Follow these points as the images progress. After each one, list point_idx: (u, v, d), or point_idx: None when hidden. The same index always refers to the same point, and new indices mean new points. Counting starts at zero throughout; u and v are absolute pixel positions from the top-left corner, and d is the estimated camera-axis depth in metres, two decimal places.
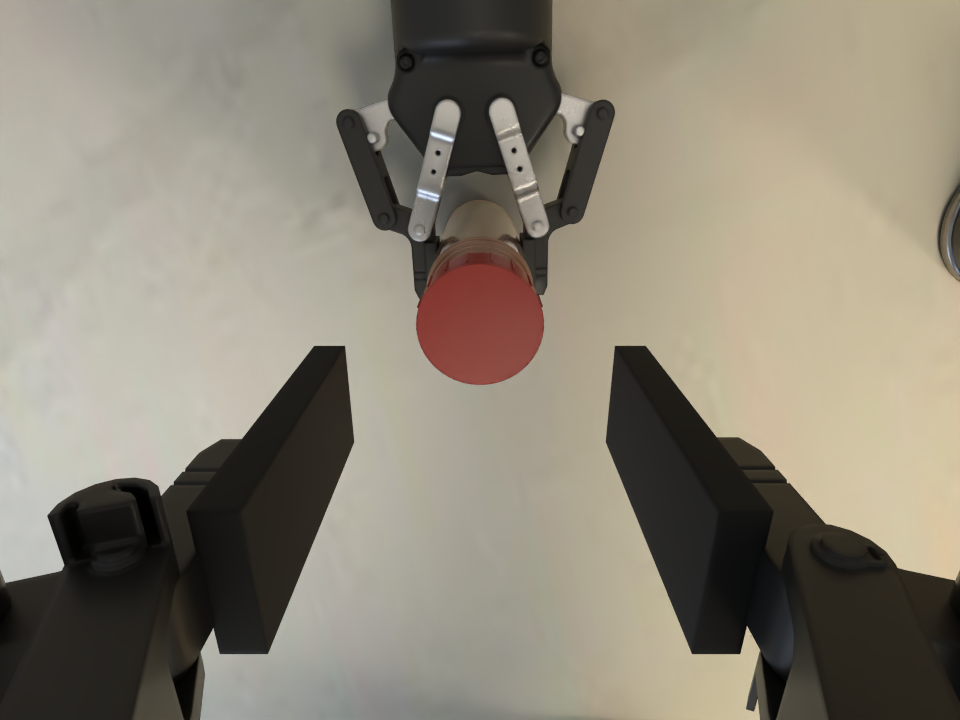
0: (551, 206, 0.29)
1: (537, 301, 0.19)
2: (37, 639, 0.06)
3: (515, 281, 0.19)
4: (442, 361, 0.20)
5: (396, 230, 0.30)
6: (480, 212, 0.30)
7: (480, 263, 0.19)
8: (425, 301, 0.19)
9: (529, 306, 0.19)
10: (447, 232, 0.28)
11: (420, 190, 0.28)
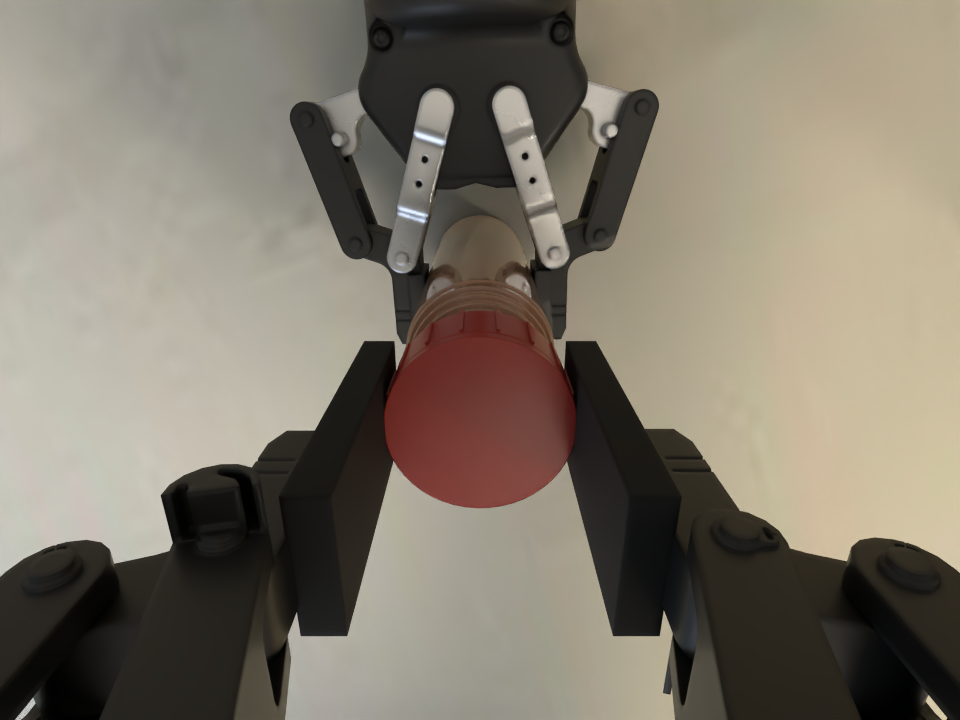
0: (572, 228, 0.23)
1: (568, 391, 0.12)
2: (150, 612, 0.06)
3: (534, 362, 0.12)
4: (423, 476, 0.13)
5: (372, 258, 0.23)
6: (480, 235, 0.23)
7: (480, 335, 0.12)
8: (396, 391, 0.12)
9: (555, 399, 0.12)
10: (437, 263, 0.22)
11: (402, 208, 0.21)
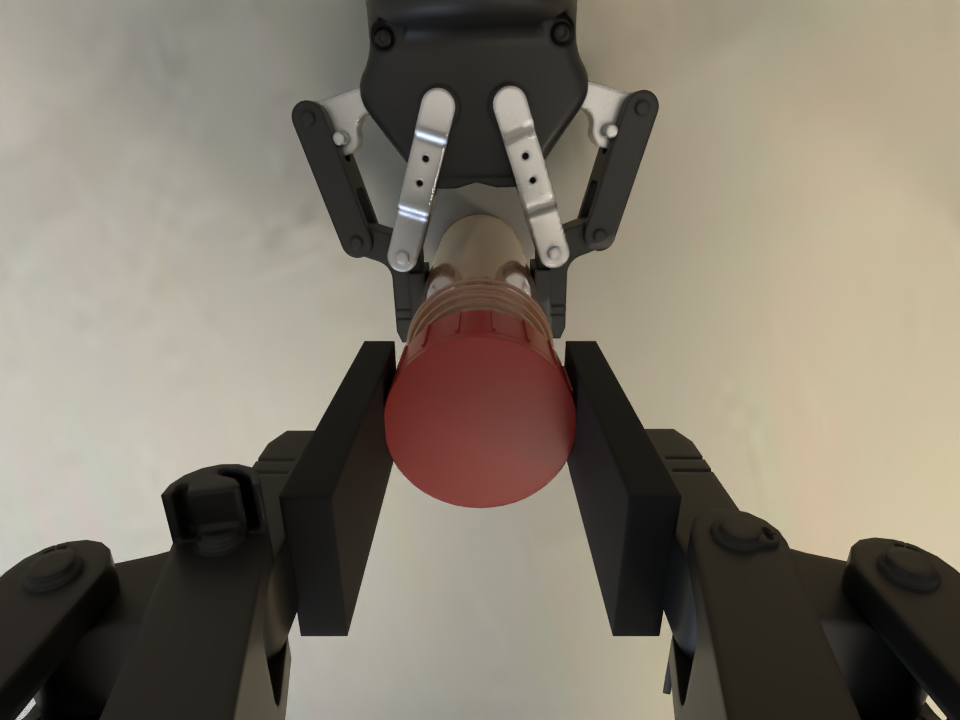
0: (572, 228, 0.23)
1: (391, 391, 0.12)
2: (151, 612, 0.06)
3: (392, 431, 0.13)
4: (560, 436, 0.13)
5: (373, 257, 0.23)
6: (480, 234, 0.23)
7: (408, 477, 0.13)
8: (499, 502, 0.13)
9: (405, 395, 0.12)
10: (437, 262, 0.22)
11: (403, 207, 0.21)
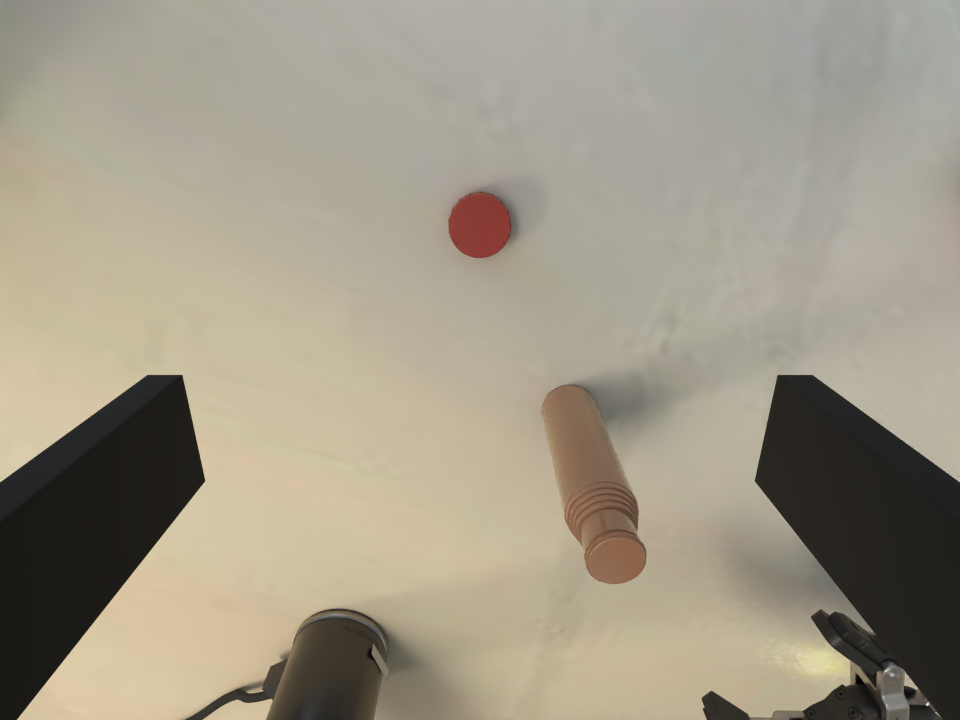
0: None
1: (498, 202, 0.39)
2: None
3: (483, 198, 0.39)
4: (471, 251, 0.41)
5: None
6: None
7: (465, 198, 0.39)
8: (450, 228, 0.40)
9: (495, 206, 0.39)
10: None
11: (904, 704, 0.32)
